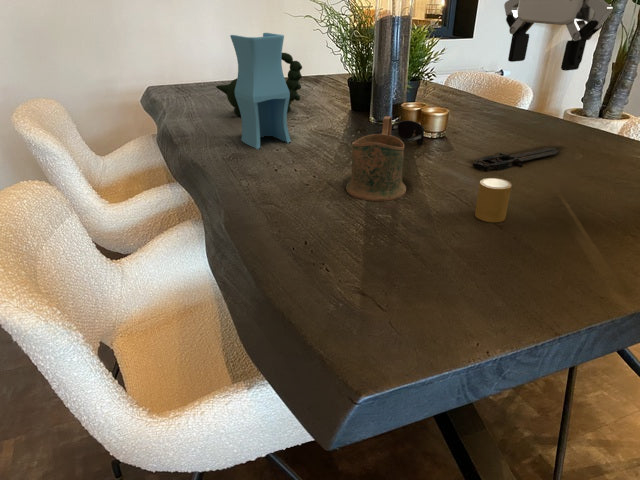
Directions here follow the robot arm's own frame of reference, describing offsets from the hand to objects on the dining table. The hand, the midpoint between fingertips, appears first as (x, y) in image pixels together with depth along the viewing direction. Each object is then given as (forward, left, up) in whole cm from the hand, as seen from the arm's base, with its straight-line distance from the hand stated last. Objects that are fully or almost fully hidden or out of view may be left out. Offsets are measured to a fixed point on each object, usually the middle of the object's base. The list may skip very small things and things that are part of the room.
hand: (541, 65), depth 75 cm
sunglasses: (+22, -36, -25) cm, 49 cm away
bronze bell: (+24, -9, -25) cm, 36 cm away
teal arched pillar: (+55, -34, -24) cm, 69 cm away
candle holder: (+4, +3, -24) cm, 25 cm away
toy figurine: (+64, -61, -25) cm, 92 cm away
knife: (-6, -29, -25) cm, 38 cm away
